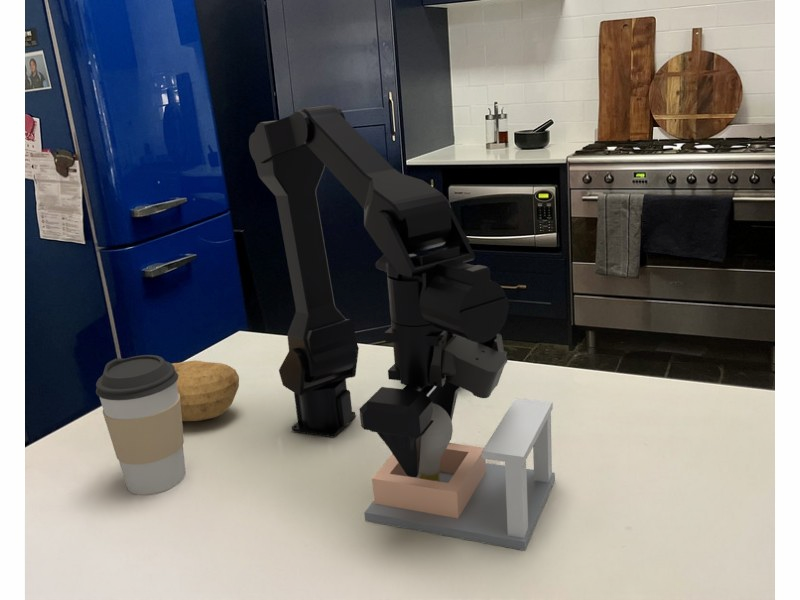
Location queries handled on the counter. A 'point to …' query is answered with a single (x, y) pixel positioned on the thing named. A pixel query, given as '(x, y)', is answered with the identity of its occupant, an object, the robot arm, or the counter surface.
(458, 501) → the socket stand
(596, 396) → the counter surface
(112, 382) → the coffee cup
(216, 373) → the potato
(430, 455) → the light bulb
